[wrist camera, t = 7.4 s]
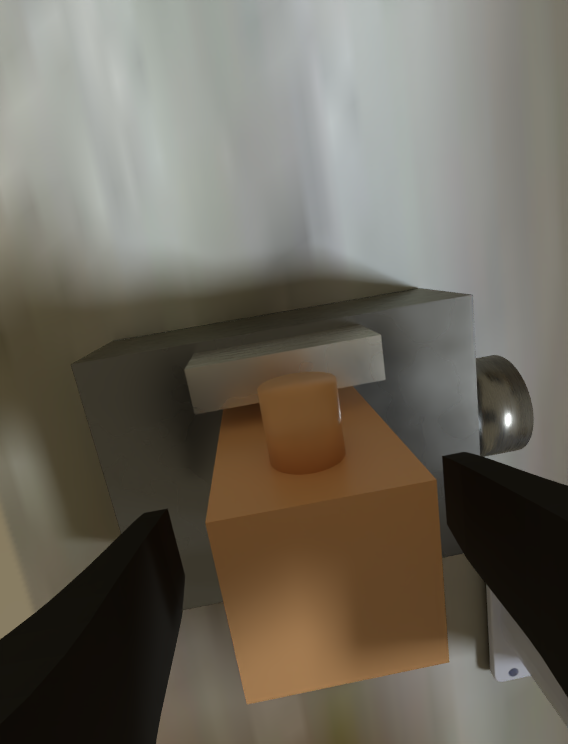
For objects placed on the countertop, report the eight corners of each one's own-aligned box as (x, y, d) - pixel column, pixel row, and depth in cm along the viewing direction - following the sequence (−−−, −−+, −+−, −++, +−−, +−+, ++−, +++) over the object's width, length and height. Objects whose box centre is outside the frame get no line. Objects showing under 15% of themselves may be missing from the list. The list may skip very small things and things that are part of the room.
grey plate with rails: (469, 279, 17) (587, 286, 11) (478, 482, 19) (581, 578, 13) (112, 340, 16) (37, 382, 10) (167, 543, 18) (131, 671, 12)
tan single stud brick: (345, 334, 13) (430, 391, 7) (365, 499, 14) (449, 662, 8) (213, 356, 12) (185, 435, 7) (246, 521, 14) (247, 704, 8)
